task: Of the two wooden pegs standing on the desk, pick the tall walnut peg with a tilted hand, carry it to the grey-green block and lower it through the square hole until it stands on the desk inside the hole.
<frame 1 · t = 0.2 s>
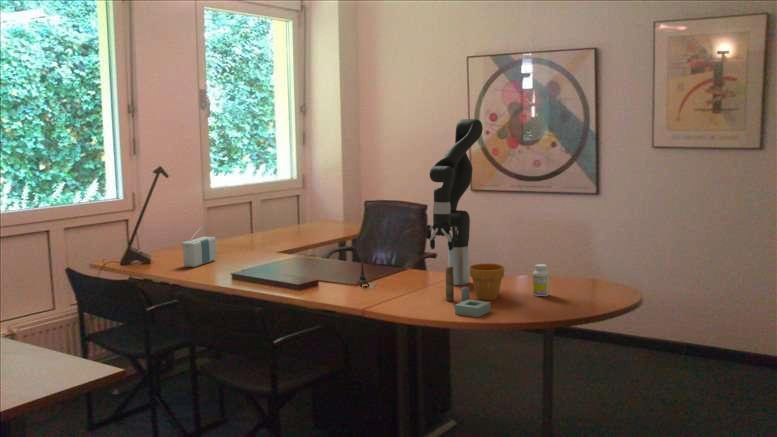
hand: (441, 249, 324), 18 cm above the table, tool pointing down, fingers open, 8 cm apart
short grey peg: (465, 304, 300), on the table
eiffel tower figurine: (363, 287, 337), on the table
hole block: (472, 312, 288), on the table
supplement bottle: (540, 295, 313), on the table
walnut peg: (449, 300, 308), on the table
stereo radio cassette player: (200, 264, 398), on the table
flower pot: (487, 297, 311), on the table
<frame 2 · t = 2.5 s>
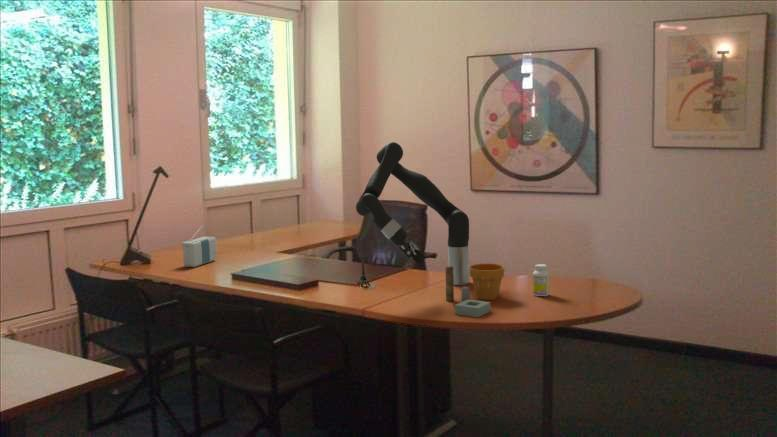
hand: (422, 260, 308), 17 cm above the table, tool tilted 45°, fingers open, 8 cm apart
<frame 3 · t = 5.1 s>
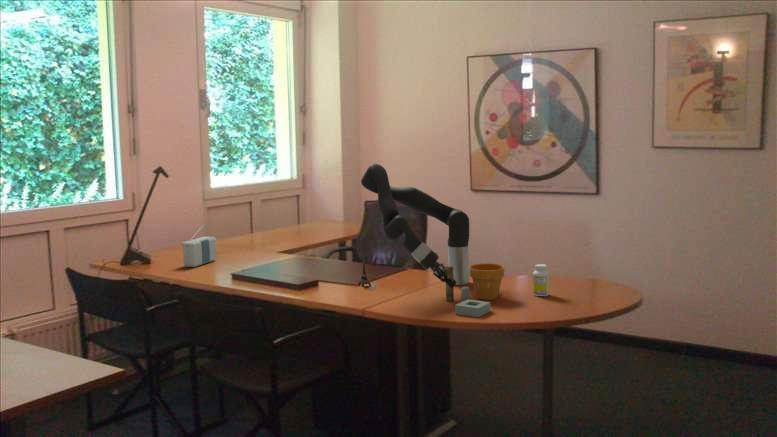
hand: (454, 285, 306), 6 cm above the table, tool tilted 45°, fingers closed on walnut peg, 3 cm apart
walnut peg: (449, 300, 308), on the table, touching gripper
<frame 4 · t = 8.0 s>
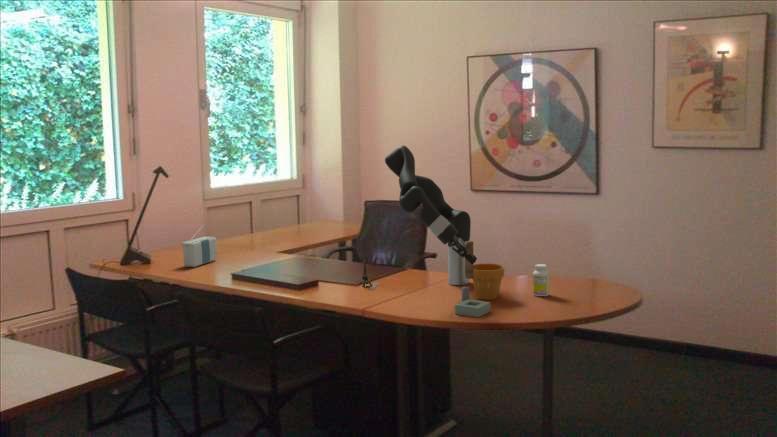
hand: (474, 261, 285), 20 cm above the table, tool tilted 45°, fingers closed on walnut peg, 3 cm apart
walnut peg: (469, 277, 287), point 14 cm above the table, touching gripper
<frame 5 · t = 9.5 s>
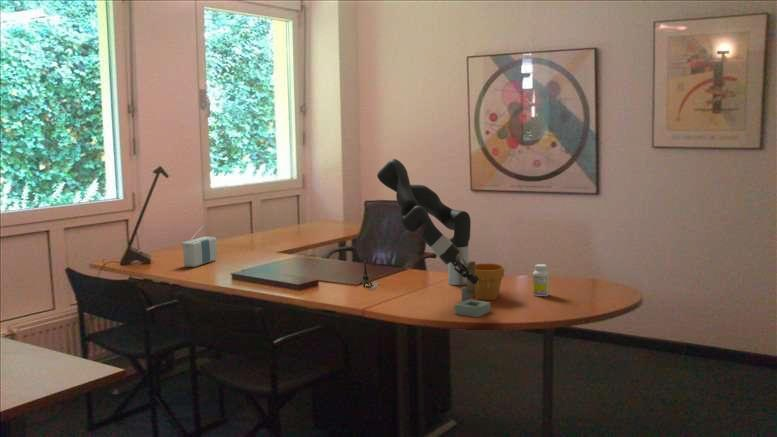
hand: (476, 281, 286), 12 cm above the table, tool tilted 45°, fingers closed on walnut peg, 3 cm apart
walnut peg: (470, 297, 287), point 6 cm above the table, touching gripper
when the fingers open (8 cm above the table, at t = 10.7 s): walnut peg drops 1 cm, resting in hole block.
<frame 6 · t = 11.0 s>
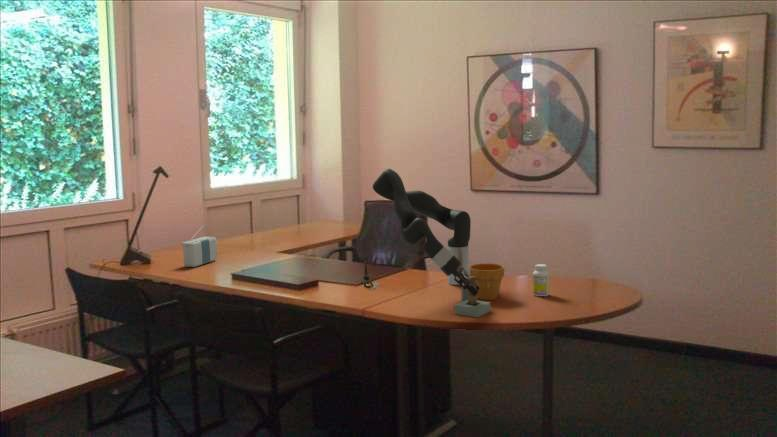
hand: (477, 292, 287), 8 cm above the table, tool tilted 45°, fingers open, 6 cm apart
walnut peg: (472, 312, 288), resting in hole block
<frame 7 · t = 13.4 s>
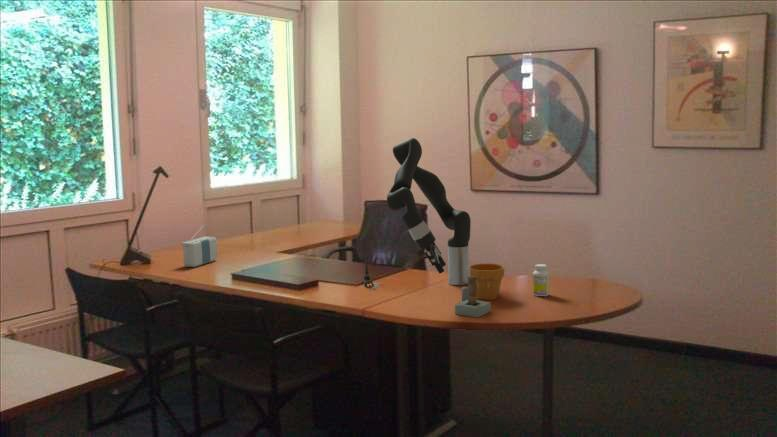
hand: (442, 269, 294), 16 cm above the table, tool tilted 30°, fingers open, 8 cm apart
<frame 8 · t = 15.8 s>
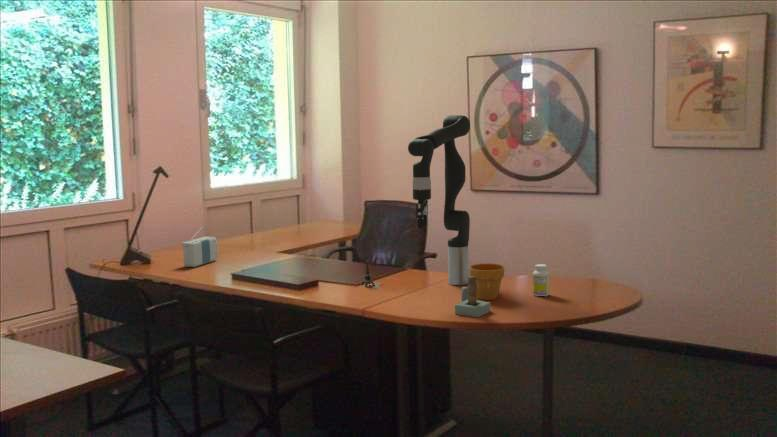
hand: (422, 226, 309), 30 cm above the table, tool pointing down, fingers open, 8 cm apart
at the end: walnut peg 0.2 cm off-centre on the hole block, point 0.0 cm above the hole block's base; walnut peg tilted 0°; the gripper is holding nothing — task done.
